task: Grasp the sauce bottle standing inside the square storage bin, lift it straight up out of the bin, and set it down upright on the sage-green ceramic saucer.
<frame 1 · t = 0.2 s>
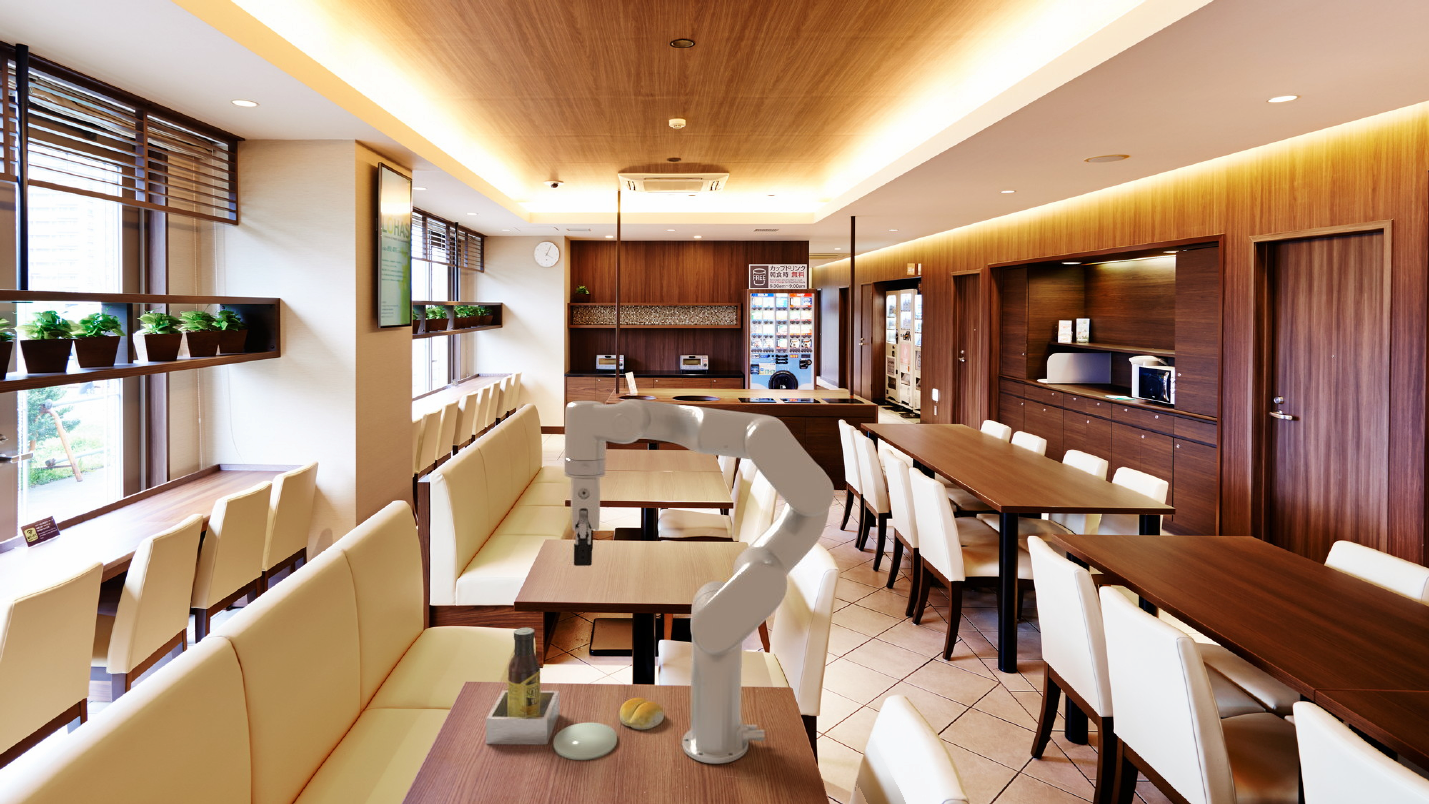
hand: (583, 557, 138), 37 cm above the table, tool pointing down, fingers open, 9 cm apart
bread roll: (641, 721, 151), on the table
sauce bottle: (524, 729, 147), resting in square storage bin
square storage bin: (524, 728, 147), on the table
saucer: (585, 742, 142), on the table
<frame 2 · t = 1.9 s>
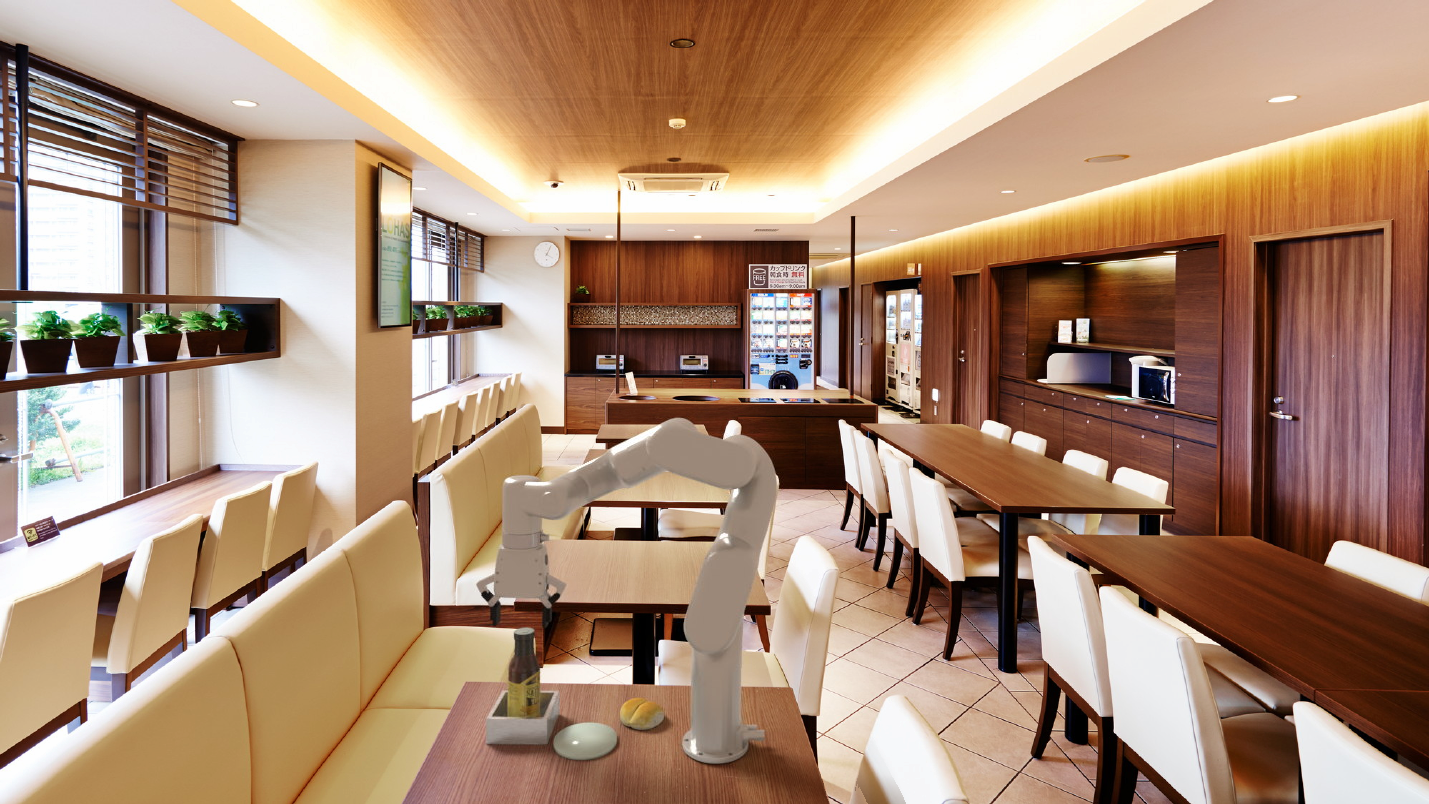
hand: (521, 624, 145), 21 cm above the table, tool pointing down, fingers open, 9 cm apart
nothing on the table moved.
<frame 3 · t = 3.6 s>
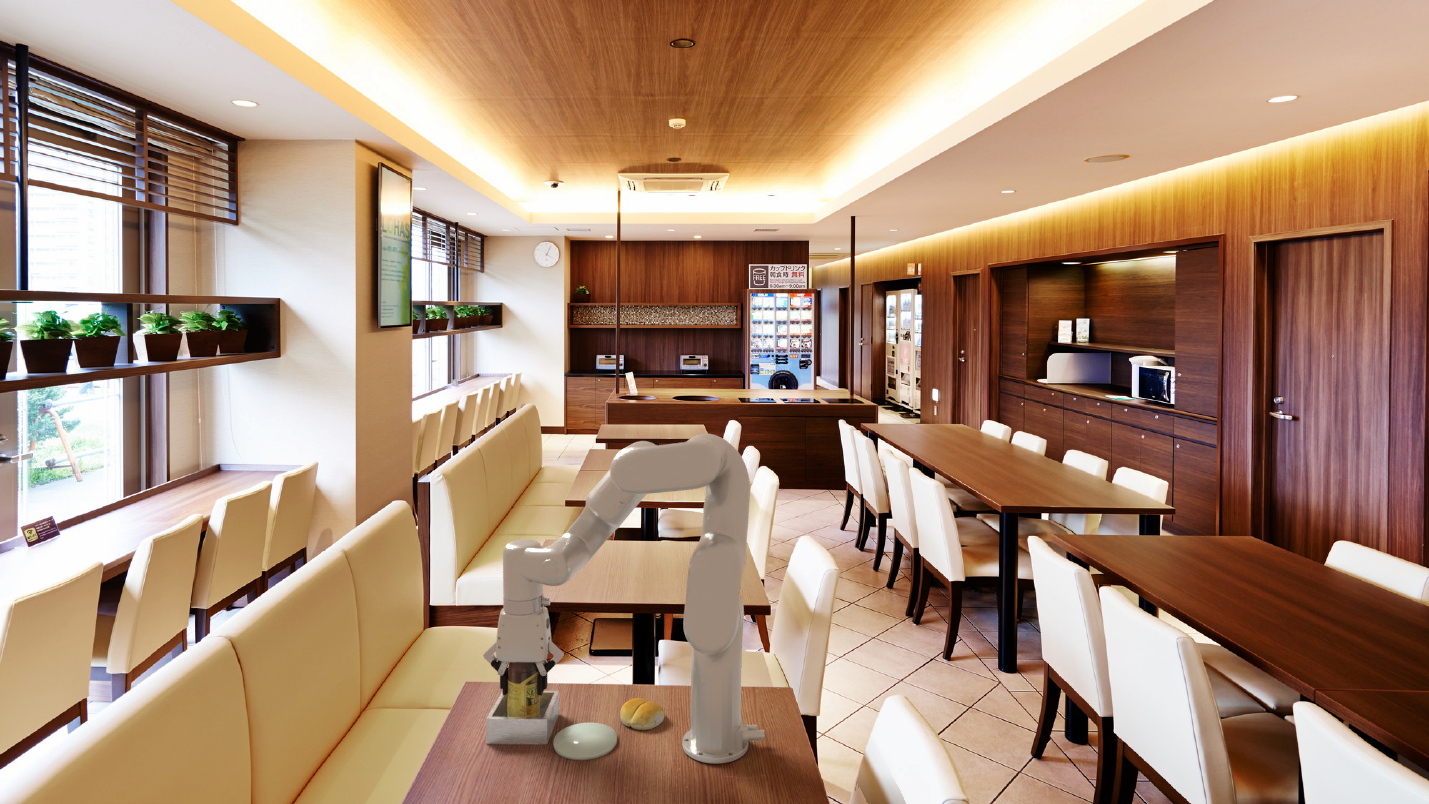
hand: (523, 691, 146), 8 cm above the table, tool pointing down, fingers closed on sauce bottle, 6 cm apart
sauce bottle: (524, 729, 147), resting in square storage bin, touching gripper
everything else where it was.
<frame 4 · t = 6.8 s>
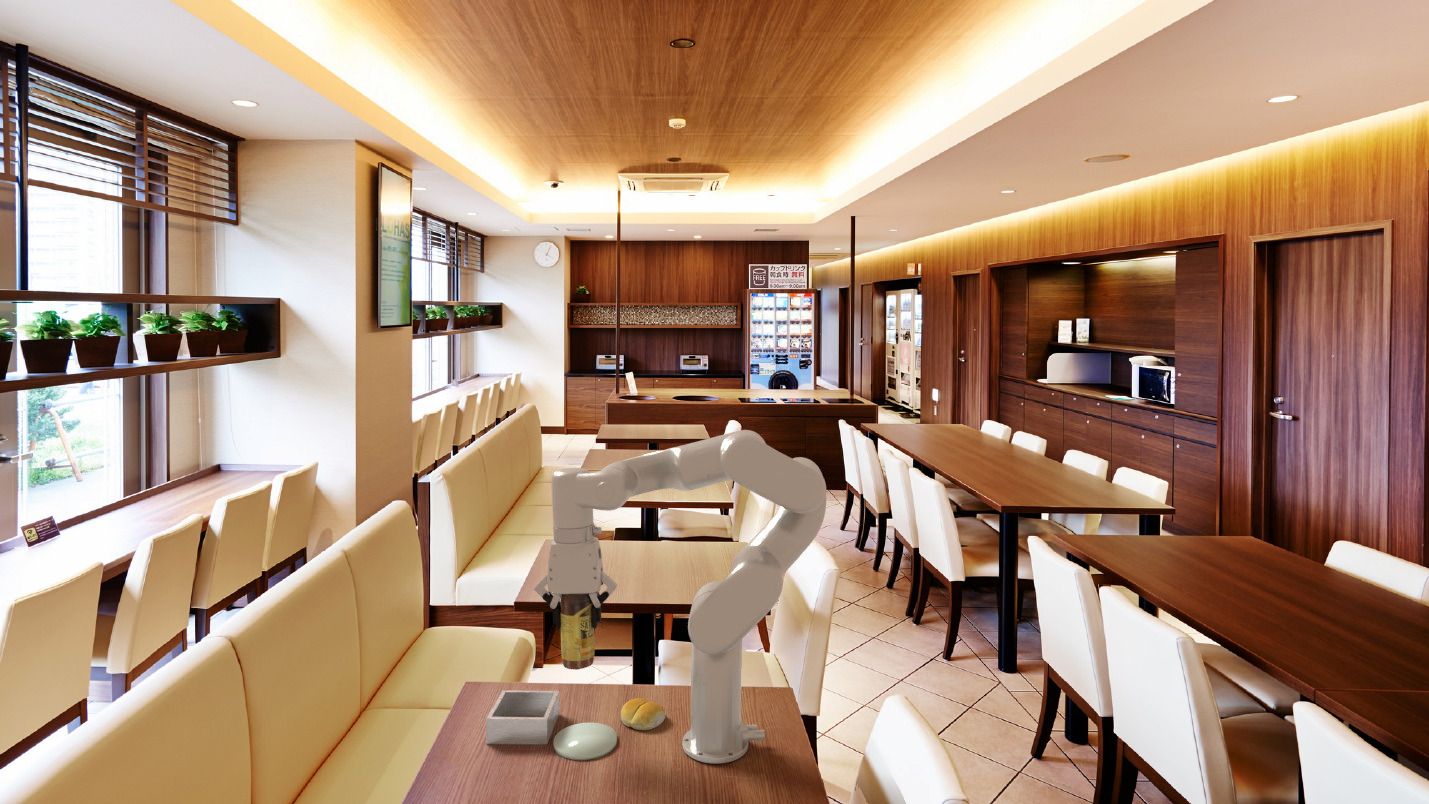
hand: (577, 625, 141), 23 cm above the table, tool pointing down, fingers closed on sauce bottle, 6 cm apart
sauce bottle: (578, 664, 141), point 15 cm above the table, touching gripper
everything else where it was.
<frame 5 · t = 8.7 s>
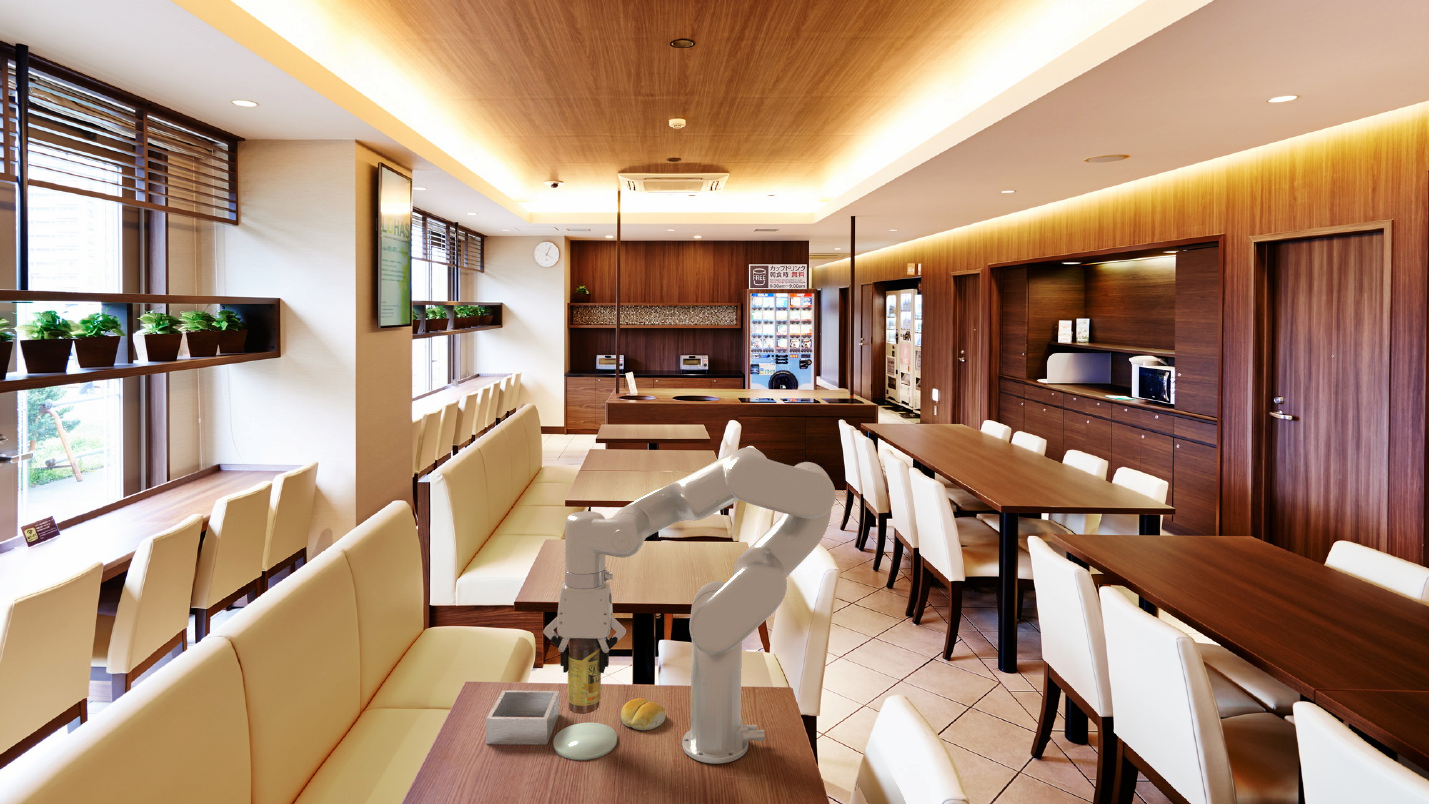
hand: (584, 669, 141), 15 cm above the table, tool pointing down, fingers closed on sauce bottle, 6 cm apart
sauce bottle: (584, 708, 141), point 7 cm above the table, touching gripper
everything else where it was.
when the fingers open (9 cm above the table, at t = 10.2 s): sauce bottle drops 1 cm, resting on saucer.
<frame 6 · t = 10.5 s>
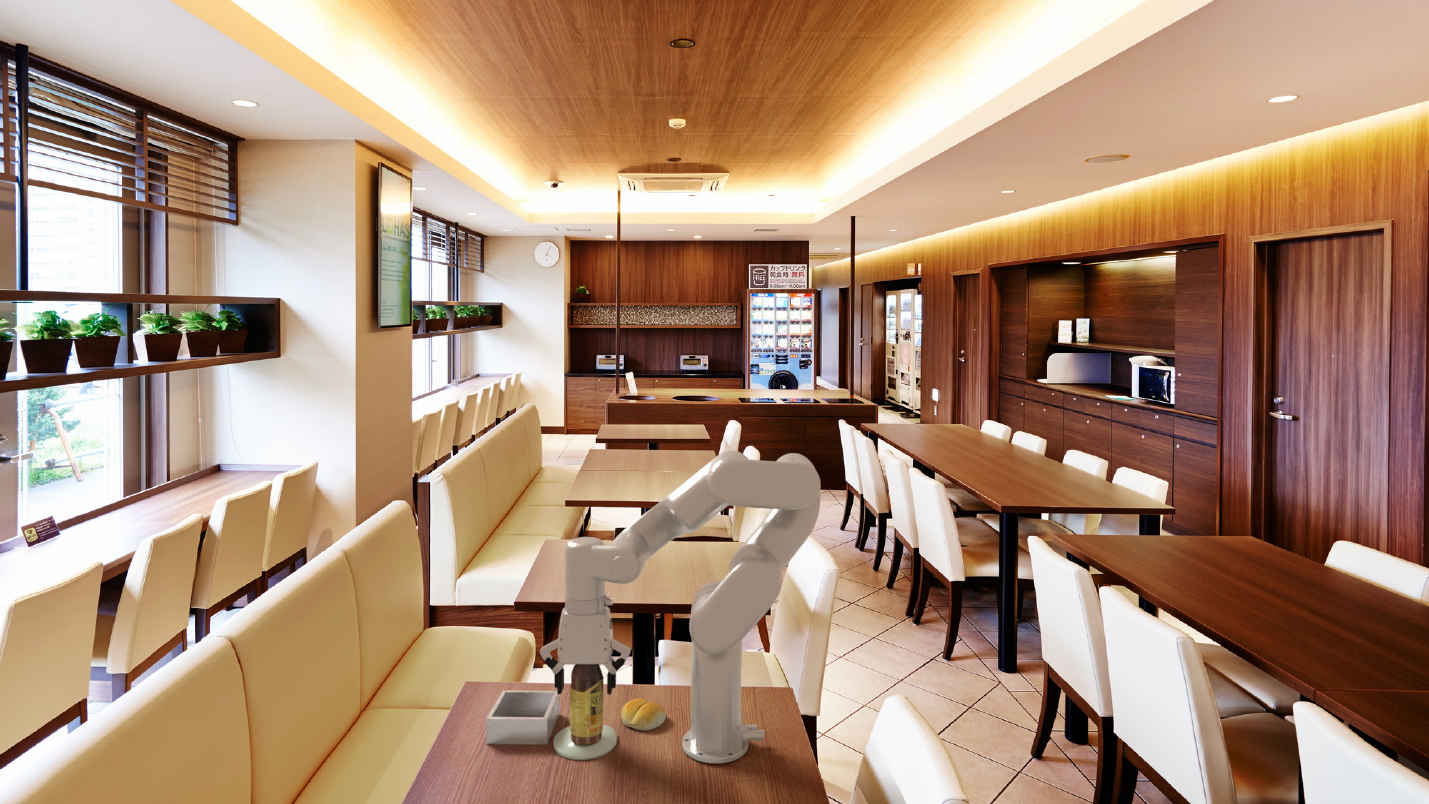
hand: (585, 691, 141), 10 cm above the table, tool pointing down, fingers open, 9 cm apart
sauce bottle: (586, 739, 142), point 1 cm above the table, touching saucer
everything else where it was.
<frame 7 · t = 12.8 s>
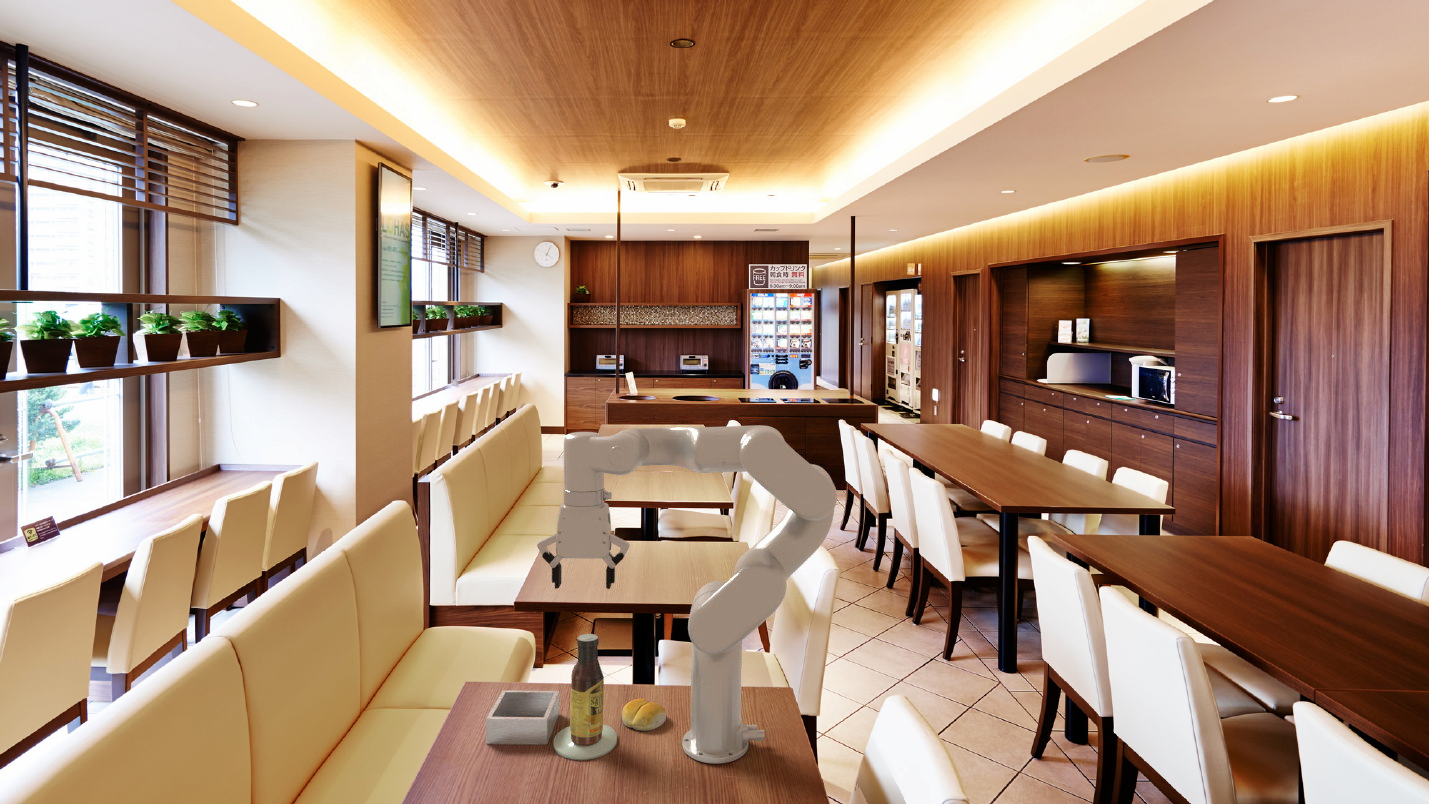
hand: (583, 586, 140), 30 cm above the table, tool pointing down, fingers open, 9 cm apart
nothing on the table moved.
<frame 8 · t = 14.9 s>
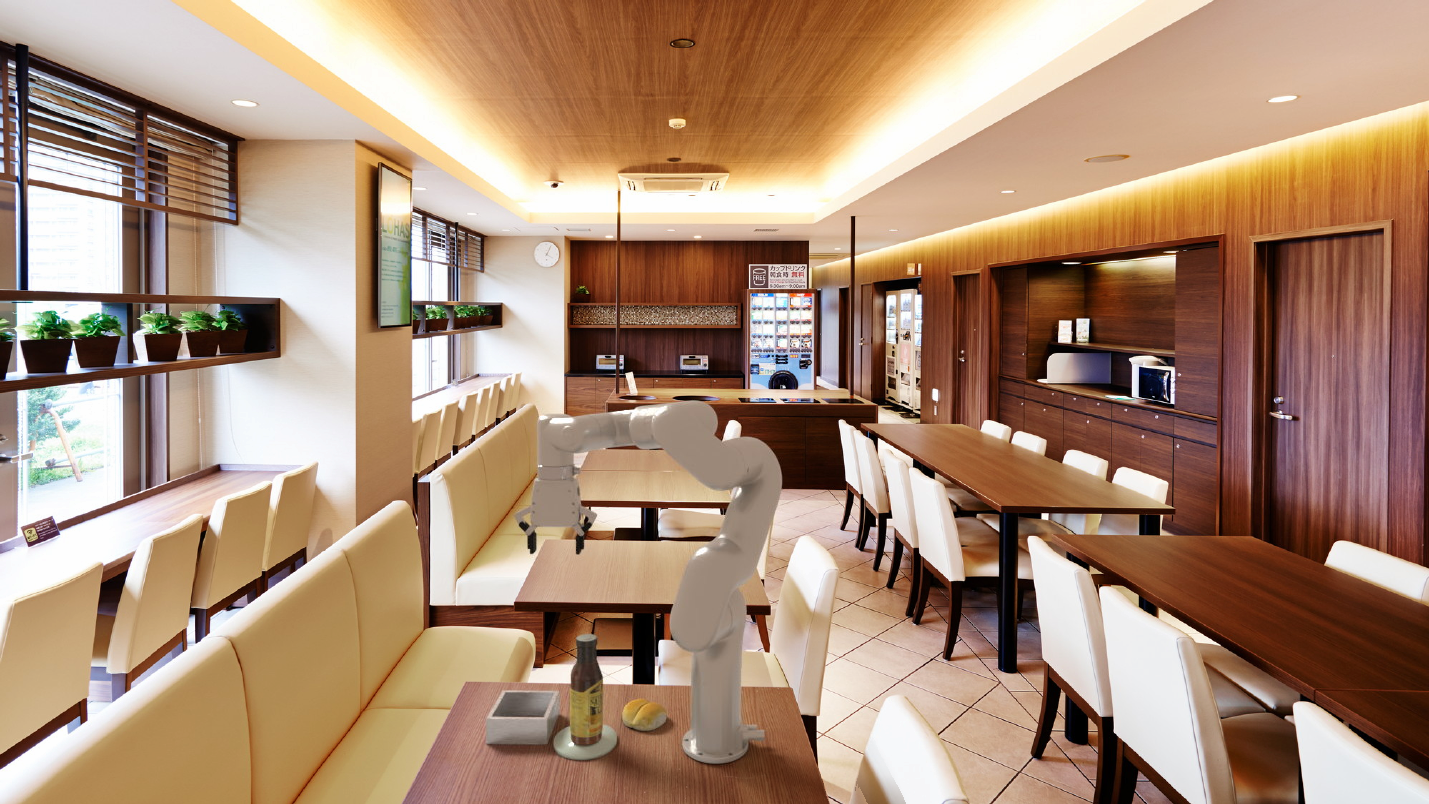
hand: (556, 552, 156), 32 cm above the table, tool pointing down, fingers open, 9 cm apart
nothing on the table moved.
at the end: sauce bottle 0.3 cm off-centre on the saucer, point 0.6 cm above the saucer's base; sauce bottle tilted 1°; the gripper is holding nothing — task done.
